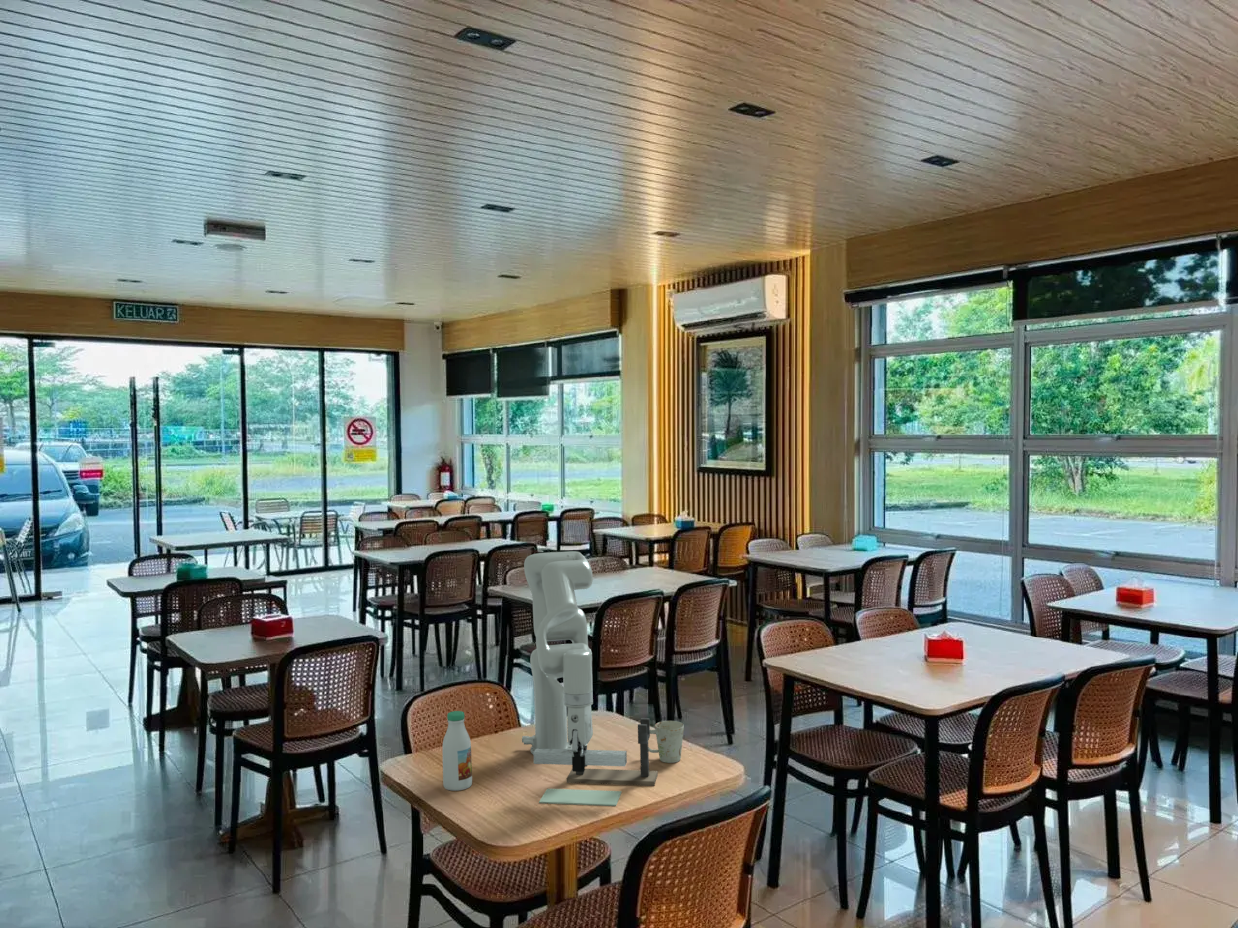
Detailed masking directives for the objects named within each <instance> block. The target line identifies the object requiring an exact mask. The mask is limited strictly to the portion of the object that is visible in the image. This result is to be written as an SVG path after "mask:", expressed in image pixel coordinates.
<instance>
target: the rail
mask: <svg viewBox="0 0 1238 928" xmlns="http://www.w3.org/2000/svg"><path fill="white" fill-rule="evenodd" d="M533 754H534V755H533ZM533 754H532V755H533V764H535V765H560V766H561V765H562V766H564V765H565V766H572V749H536V750H535V751H534V752H533ZM583 756H585V765H587V766H596V767H599V766H600V767H601V766H603V767H626V766H627V763H628V762H627V761H628V760H627V759H628V757H627V756H628V755H627V750H608V749H607V750H604V749H602V750H599V749H594V750H593V749H587V750H583Z"/></svg>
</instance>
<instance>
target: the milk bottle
mask: <svg viewBox="0 0 1238 928" xmlns="http://www.w3.org/2000/svg"><path fill="white" fill-rule="evenodd" d="M446 716H447V717H446V719H447V723H448V725H447V729H446V732H445V735H444V736H443V740H442V786H443V788H444V789H445V790H447V791H451V792H452V791H456V792H457V791H462V790H467V789H468V788H470V787H471V786H472V784H473V770H472V769H473V768H472V767H473V766H472V764H473V763H472V762H473V761H472V743H471V738H470V735H469V733H468V731H467V729H466V726H465V723H464V722H465V712H464V711H462V710H454V711H450V712H447V715H446Z"/></svg>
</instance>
